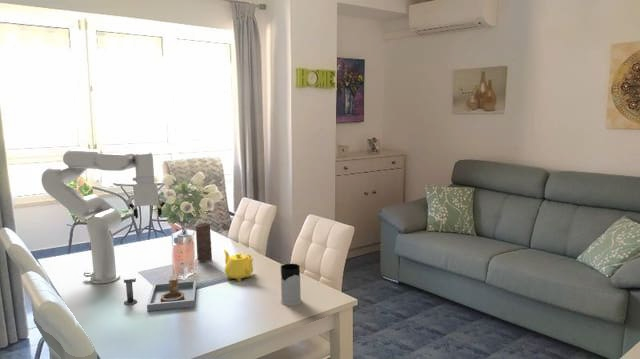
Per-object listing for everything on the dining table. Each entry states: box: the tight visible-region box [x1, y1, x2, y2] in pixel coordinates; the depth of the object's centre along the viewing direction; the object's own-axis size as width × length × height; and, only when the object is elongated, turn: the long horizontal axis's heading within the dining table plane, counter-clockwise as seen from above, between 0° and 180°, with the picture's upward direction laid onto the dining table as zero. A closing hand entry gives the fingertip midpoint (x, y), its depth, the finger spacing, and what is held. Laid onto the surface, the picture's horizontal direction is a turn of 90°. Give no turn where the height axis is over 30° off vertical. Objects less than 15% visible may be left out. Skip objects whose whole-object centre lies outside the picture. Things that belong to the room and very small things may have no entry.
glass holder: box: [280, 263, 303, 307], centre depth 198 cm, size 9×14×15 cm, turn 28°
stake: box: [123, 277, 138, 306], centre depth 196 cm, size 5×5×10 cm
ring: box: [161, 274, 184, 302], centre depth 200 cm, size 9×15×7 cm, turn 12°
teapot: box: [223, 249, 255, 282], centre depth 224 cm, size 20×15×12 cm
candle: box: [195, 222, 213, 262], centre depth 246 cm, size 8×7×20 cm
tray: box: [146, 279, 197, 313], centre depth 201 cm, size 18×22×3 cm
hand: (148, 217), depth 216 cm, fingers open, 9 cm apart
